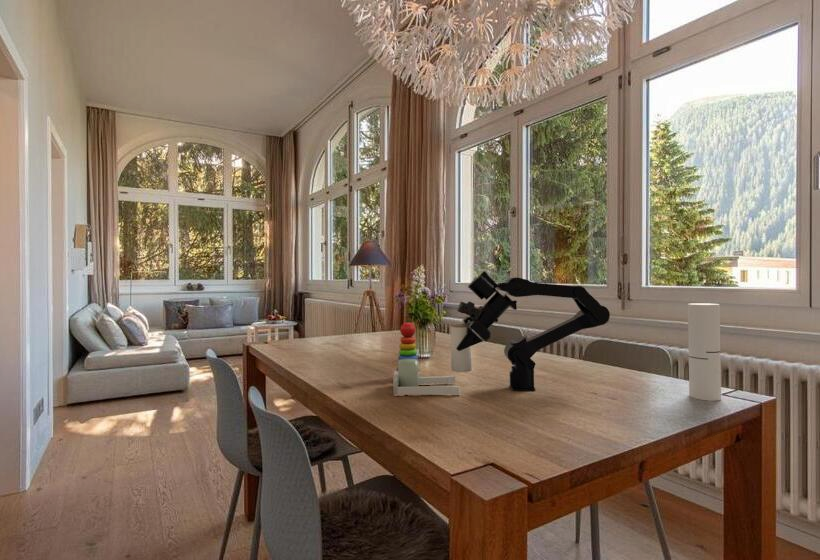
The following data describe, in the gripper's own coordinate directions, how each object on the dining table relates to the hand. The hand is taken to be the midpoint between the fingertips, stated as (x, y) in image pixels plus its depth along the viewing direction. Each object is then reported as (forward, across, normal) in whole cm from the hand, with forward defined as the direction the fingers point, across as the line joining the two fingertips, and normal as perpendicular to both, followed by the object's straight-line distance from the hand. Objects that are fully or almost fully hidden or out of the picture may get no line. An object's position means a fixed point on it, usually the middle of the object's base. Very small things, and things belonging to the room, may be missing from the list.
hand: (456, 348), depth 133 cm
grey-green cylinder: (+19, 0, -2) cm, 19 cm away
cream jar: (+4, 0, +6) cm, 7 cm away
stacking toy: (+19, -15, -2) cm, 24 cm away
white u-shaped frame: (+15, 0, +2) cm, 15 cm away
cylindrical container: (-37, +14, +55) cm, 68 cm away
